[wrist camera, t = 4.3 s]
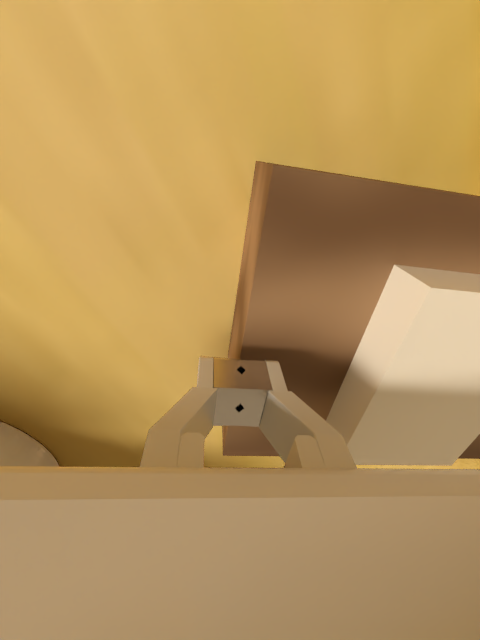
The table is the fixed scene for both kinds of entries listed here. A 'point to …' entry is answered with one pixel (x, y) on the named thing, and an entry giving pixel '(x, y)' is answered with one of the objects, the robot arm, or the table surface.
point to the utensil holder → (22, 449)
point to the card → (415, 372)
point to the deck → (333, 273)
